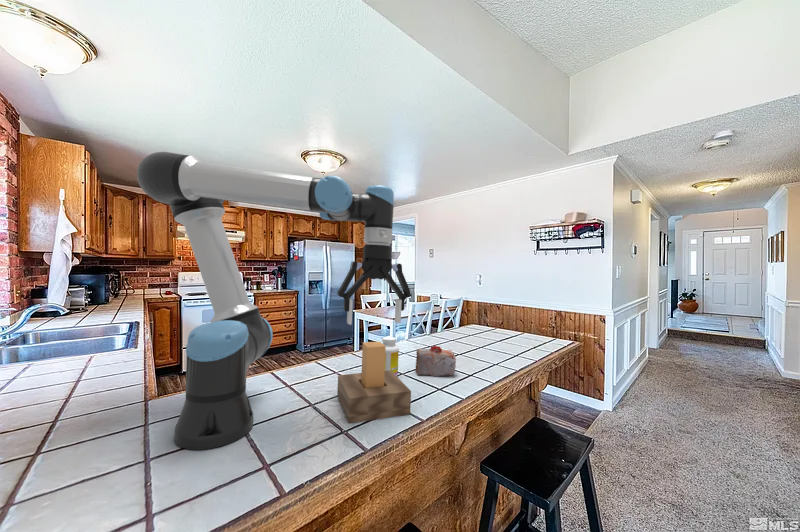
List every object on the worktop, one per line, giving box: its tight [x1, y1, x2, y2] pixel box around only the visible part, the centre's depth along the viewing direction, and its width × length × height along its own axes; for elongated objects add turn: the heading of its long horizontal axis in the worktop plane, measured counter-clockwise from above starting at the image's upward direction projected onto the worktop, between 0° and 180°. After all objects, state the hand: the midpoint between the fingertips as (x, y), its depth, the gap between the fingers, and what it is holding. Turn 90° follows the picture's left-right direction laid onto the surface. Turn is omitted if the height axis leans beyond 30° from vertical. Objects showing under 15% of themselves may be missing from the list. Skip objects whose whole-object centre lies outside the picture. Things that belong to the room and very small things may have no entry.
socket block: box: [336, 370, 412, 424], centre depth 87 cm, size 16×16×6 cm
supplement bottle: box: [381, 336, 400, 377], centre depth 109 cm, size 7×7×13 cm
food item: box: [415, 345, 457, 378], centre depth 113 cm, size 14×8×10 cm, turn 92°
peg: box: [361, 341, 386, 389], centre depth 86 cm, size 5×5×15 cm
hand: (374, 323), depth 86 cm, fingers open, 13 cm apart
